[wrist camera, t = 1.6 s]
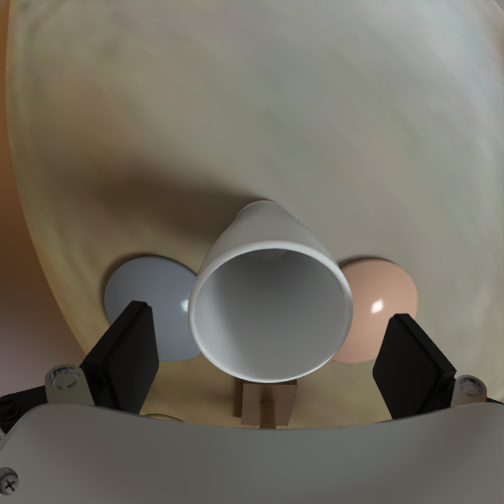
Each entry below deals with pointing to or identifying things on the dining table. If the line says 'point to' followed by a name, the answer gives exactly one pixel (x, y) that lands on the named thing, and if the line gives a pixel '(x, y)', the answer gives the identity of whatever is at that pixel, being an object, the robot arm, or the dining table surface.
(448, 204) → the dining table surface
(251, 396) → the balance
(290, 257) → the drinking glass
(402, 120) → the dining table surface
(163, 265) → the dish slate
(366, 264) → the pink dome
